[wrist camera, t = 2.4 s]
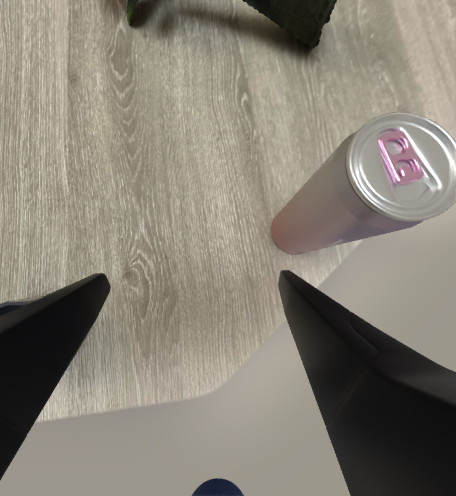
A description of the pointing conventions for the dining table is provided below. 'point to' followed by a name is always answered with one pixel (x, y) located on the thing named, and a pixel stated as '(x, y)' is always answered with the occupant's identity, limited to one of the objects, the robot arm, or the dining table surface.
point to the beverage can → (372, 185)
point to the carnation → (287, 16)
